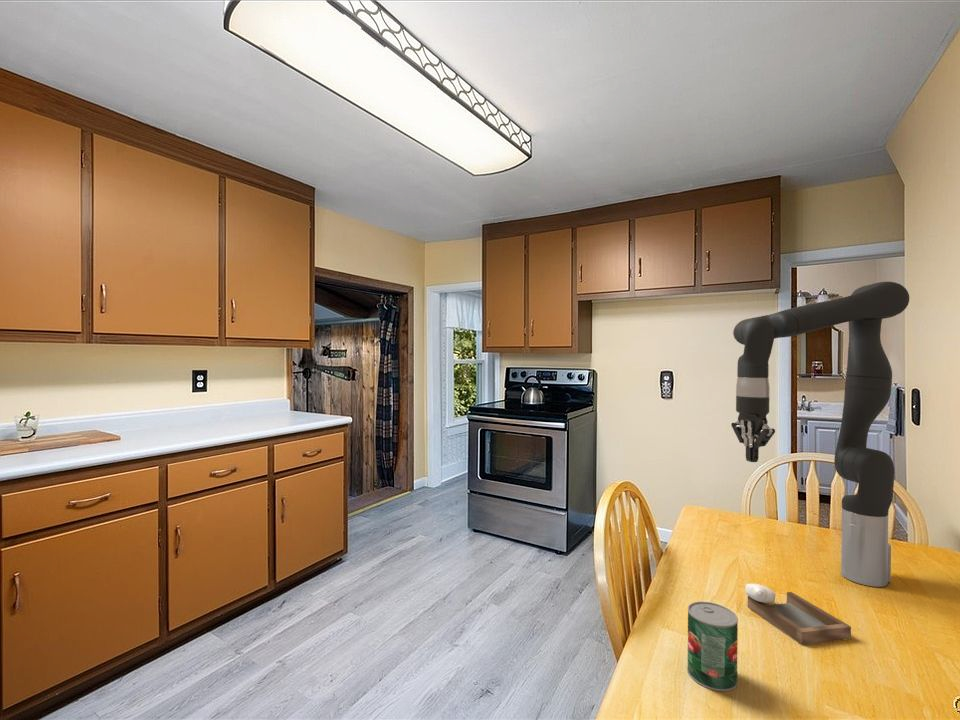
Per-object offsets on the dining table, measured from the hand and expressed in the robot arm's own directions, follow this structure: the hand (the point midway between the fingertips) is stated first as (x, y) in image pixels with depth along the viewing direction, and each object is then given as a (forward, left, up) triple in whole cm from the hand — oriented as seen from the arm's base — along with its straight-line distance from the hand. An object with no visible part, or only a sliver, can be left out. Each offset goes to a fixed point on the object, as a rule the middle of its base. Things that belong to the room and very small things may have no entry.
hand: (751, 461), depth 123 cm
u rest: (+8, +21, -29) cm, 37 cm away
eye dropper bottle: (+8, +13, -28) cm, 31 cm away
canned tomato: (+37, +34, -29) cm, 58 cm away
